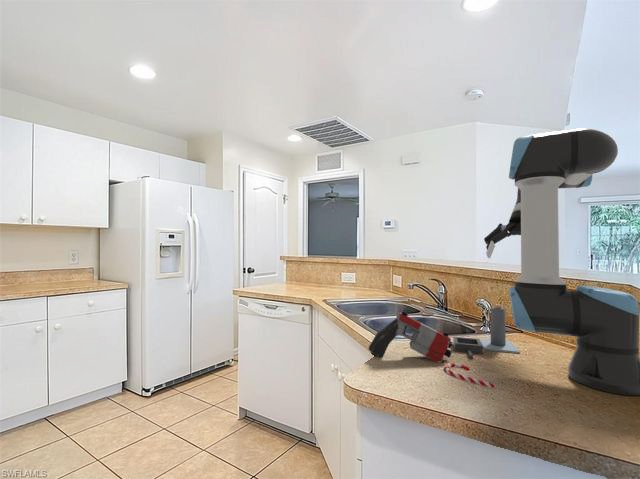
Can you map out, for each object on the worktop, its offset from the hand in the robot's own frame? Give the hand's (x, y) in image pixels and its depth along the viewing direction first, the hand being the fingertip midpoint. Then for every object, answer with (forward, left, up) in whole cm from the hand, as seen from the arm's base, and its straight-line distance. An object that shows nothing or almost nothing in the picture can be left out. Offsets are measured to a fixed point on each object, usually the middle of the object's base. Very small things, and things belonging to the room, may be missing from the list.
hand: (508, 256), depth 117 cm
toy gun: (-29, +32, -30) cm, 53 cm away
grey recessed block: (-18, +15, -30) cm, 38 cm away
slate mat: (-9, +5, -30) cm, 31 cm away
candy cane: (-39, +17, -30) cm, 52 cm away
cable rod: (-9, +5, -29) cm, 31 cm away
